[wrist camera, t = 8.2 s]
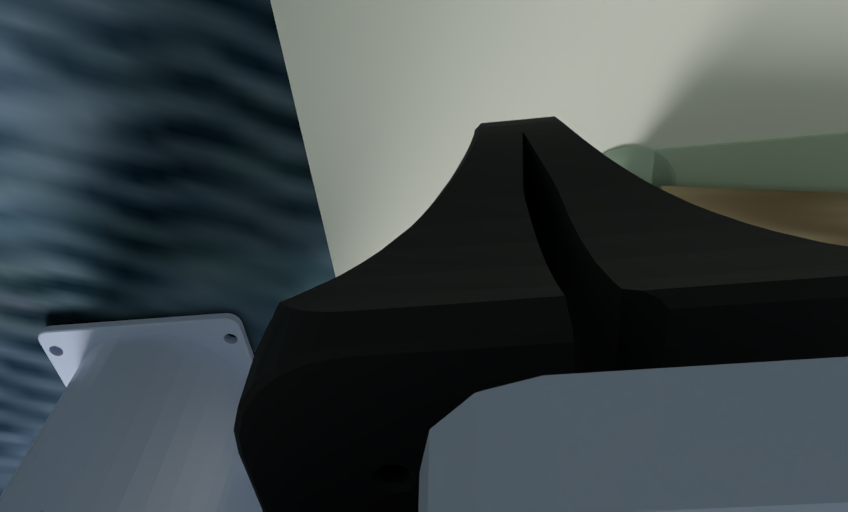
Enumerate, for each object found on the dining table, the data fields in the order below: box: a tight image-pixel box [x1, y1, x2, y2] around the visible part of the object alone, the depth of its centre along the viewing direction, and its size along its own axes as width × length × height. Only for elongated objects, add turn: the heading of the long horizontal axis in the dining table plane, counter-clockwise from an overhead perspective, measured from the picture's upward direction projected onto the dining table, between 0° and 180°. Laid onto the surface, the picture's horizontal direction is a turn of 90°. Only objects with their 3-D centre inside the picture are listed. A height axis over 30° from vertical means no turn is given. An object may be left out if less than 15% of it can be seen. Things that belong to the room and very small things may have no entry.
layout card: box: [270, 0, 848, 277], centre depth 23 cm, size 26×24×1 cm
